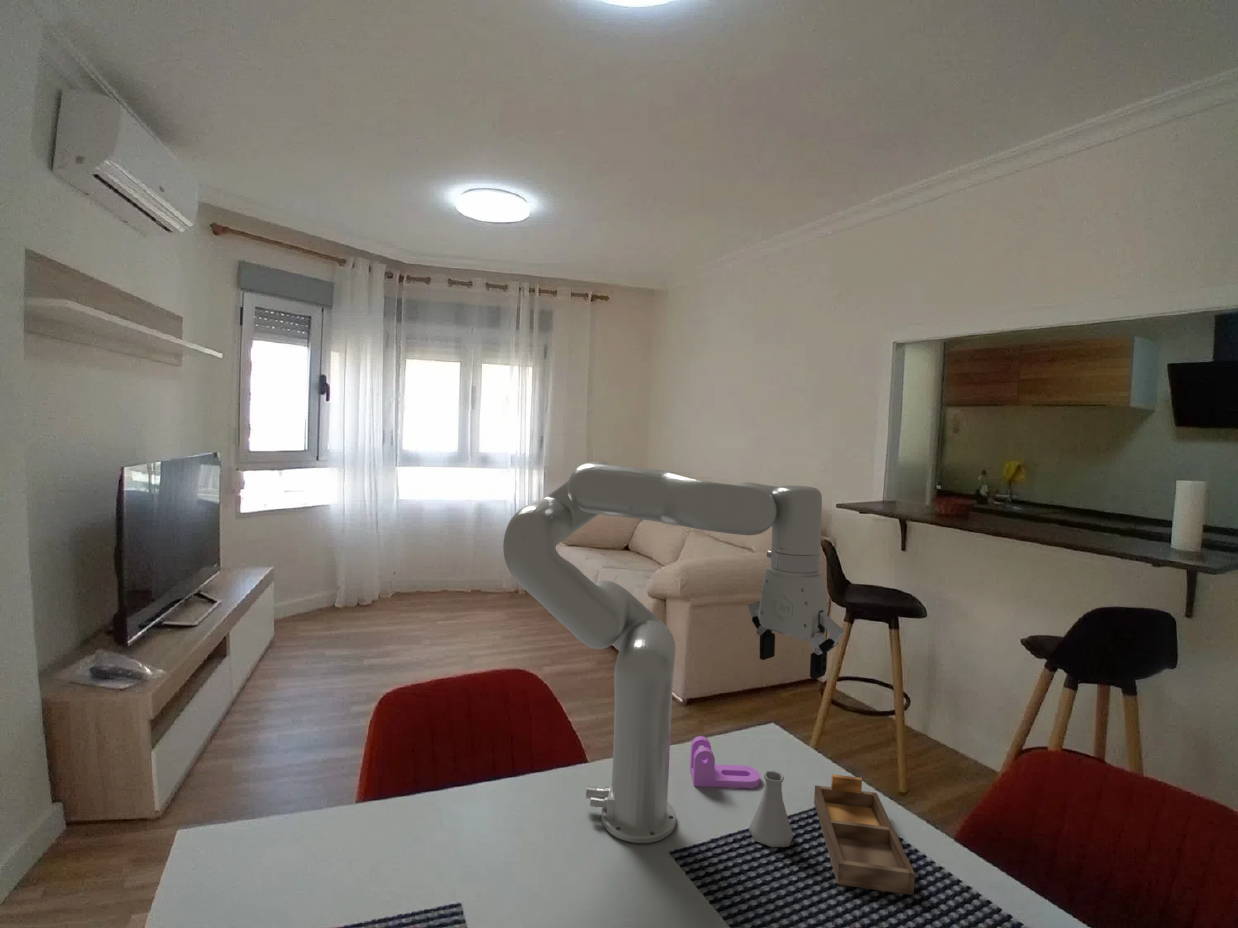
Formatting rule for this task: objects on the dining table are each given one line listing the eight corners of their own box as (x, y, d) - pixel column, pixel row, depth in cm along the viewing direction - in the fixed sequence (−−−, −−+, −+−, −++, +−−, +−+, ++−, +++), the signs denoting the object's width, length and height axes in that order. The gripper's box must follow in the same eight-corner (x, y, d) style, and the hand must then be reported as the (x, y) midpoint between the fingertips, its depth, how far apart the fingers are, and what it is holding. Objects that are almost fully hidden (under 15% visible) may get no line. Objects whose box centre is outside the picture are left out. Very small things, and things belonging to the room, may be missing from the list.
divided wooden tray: (837, 884, 89) (839, 847, 89) (814, 802, 109) (815, 772, 109) (913, 894, 88) (916, 857, 87) (875, 810, 108) (877, 779, 108)
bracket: (693, 786, 113) (695, 750, 113) (689, 770, 119) (691, 735, 118) (762, 789, 113) (764, 752, 113) (755, 772, 119) (757, 738, 119)
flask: (795, 852, 96) (798, 791, 95) (748, 844, 97) (751, 784, 97) (791, 824, 103) (794, 767, 102) (748, 817, 104) (751, 760, 104)
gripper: (738, 556, 102) (734, 656, 102) (829, 575, 88) (825, 690, 89) (766, 551, 106) (762, 647, 107) (857, 569, 93) (853, 679, 94)
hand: (791, 667), depth 98 cm, fingers open, 9 cm apart
